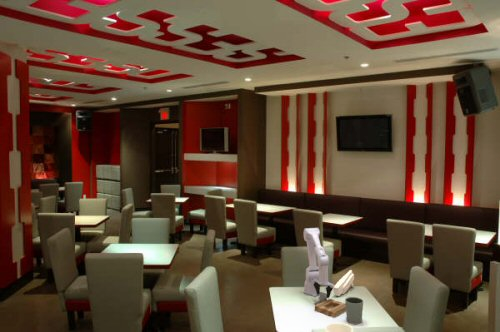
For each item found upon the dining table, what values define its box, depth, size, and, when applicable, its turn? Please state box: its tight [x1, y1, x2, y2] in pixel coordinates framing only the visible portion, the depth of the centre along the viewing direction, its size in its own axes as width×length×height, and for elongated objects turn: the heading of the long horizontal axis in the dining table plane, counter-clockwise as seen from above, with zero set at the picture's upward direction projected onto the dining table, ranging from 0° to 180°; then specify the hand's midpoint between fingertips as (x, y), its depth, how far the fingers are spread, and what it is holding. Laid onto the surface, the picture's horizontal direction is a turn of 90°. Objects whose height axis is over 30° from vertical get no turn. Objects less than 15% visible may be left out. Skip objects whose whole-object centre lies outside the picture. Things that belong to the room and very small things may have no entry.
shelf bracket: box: [333, 269, 355, 297], centre depth 281 cm, size 6×25×13 cm, turn 143°
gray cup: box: [344, 296, 364, 325], centre depth 237 cm, size 10×10×12 cm
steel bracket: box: [314, 291, 328, 306], centre depth 260 cm, size 4×8×6 cm, turn 135°
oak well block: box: [314, 298, 346, 318], centre depth 251 cm, size 14×16×3 cm
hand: (323, 296), depth 262 cm, fingers open, 7 cm apart
